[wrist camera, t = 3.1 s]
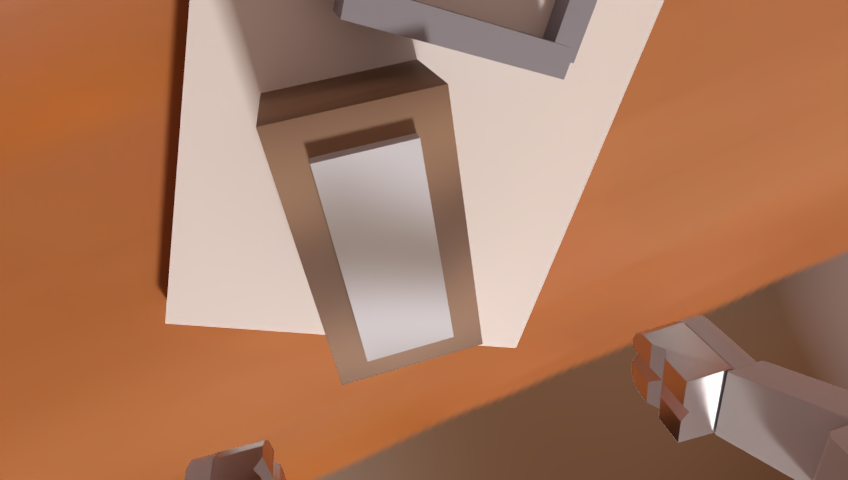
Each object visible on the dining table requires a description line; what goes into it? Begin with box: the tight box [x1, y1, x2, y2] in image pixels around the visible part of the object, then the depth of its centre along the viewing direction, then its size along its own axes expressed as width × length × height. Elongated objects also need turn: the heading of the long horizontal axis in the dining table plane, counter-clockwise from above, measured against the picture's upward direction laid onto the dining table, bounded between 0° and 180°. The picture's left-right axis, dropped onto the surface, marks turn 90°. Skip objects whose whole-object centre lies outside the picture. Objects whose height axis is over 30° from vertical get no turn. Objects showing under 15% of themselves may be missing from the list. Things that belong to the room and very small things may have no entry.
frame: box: [256, 59, 483, 385], centre depth 19 cm, size 10×6×4 cm, turn 9°
